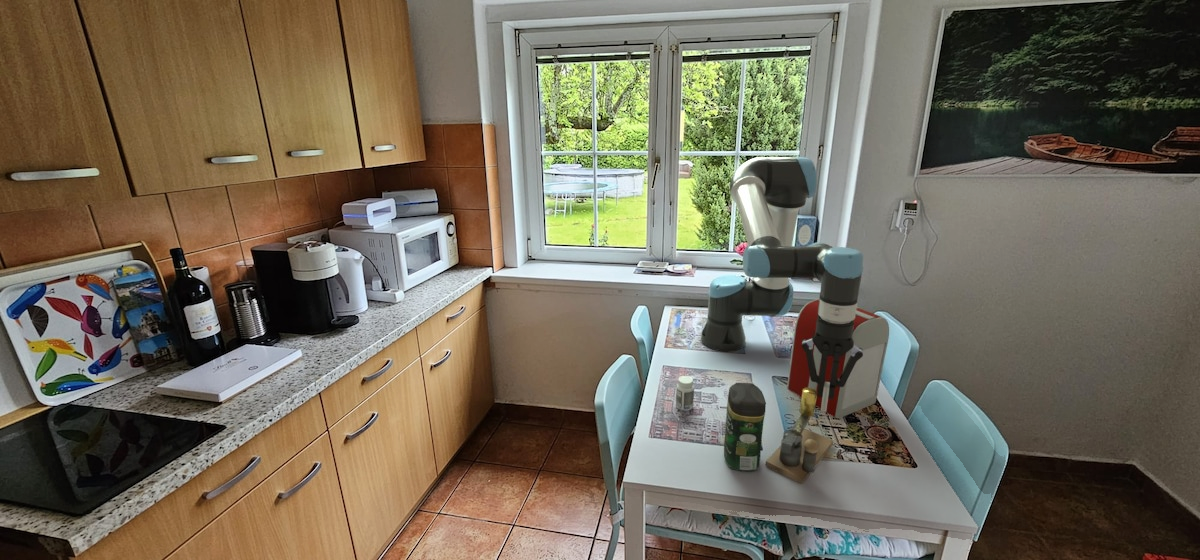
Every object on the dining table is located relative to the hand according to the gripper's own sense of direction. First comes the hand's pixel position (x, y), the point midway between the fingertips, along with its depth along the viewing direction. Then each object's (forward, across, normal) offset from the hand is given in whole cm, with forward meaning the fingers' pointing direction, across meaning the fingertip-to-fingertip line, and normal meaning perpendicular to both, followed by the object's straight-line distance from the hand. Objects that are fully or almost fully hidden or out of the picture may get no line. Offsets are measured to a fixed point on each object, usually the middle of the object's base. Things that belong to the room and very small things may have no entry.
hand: (823, 408), depth 116 cm
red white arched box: (+10, +1, +24) cm, 26 cm away
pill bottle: (+9, -34, +1) cm, 36 cm away
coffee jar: (+10, -16, -14) cm, 23 cm away
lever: (+3, -5, -7) cm, 9 cm away
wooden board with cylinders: (+10, -3, -7) cm, 12 cm away
